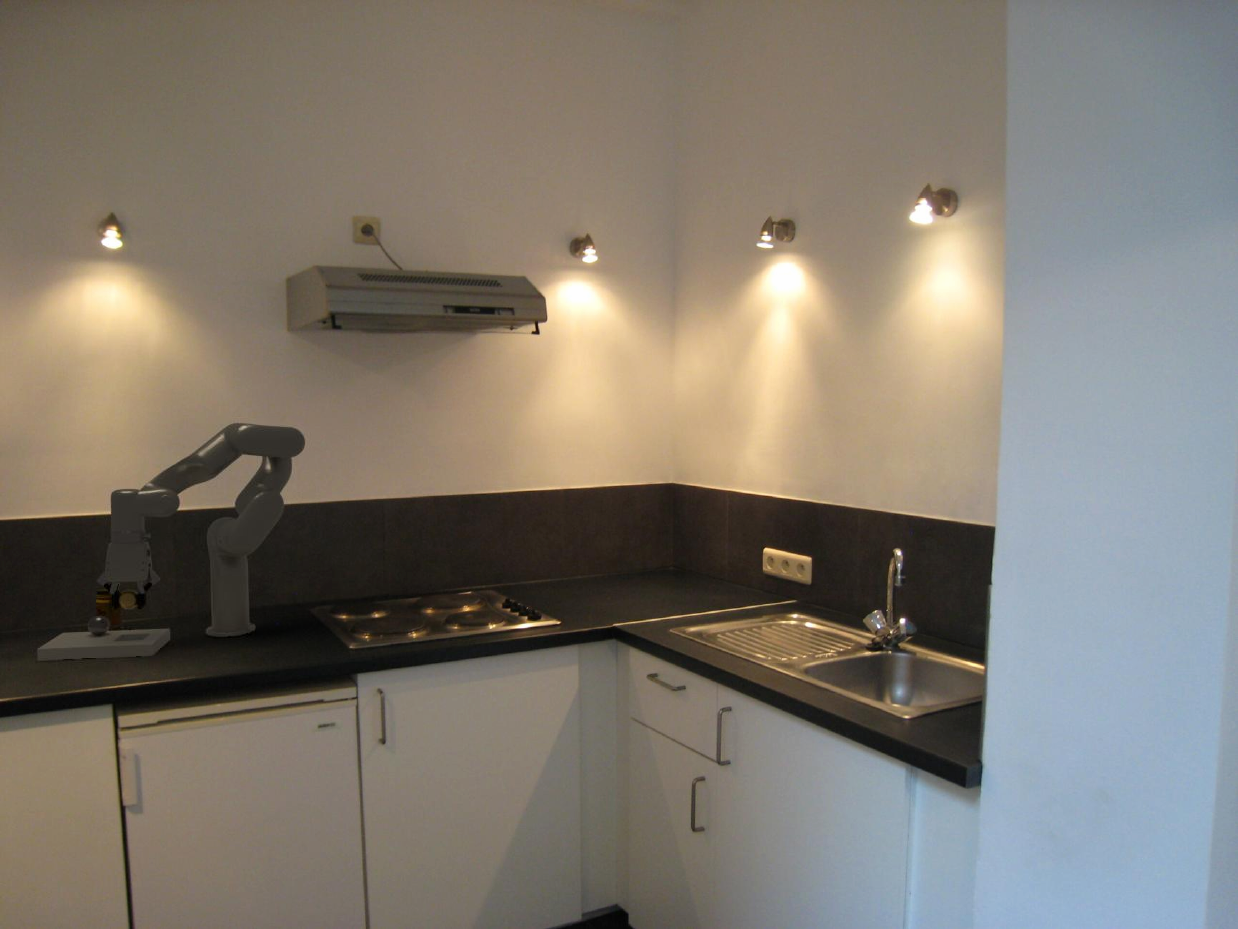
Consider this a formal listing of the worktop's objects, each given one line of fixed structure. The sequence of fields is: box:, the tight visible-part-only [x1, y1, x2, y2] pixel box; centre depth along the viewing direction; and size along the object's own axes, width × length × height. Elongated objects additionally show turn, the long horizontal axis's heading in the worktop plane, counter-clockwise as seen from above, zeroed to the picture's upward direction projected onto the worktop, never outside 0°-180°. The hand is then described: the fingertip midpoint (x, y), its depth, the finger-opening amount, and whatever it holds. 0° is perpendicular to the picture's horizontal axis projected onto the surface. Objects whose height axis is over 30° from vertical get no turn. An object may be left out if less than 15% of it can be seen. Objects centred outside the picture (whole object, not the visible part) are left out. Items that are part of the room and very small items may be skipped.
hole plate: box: [36, 628, 171, 662], centre depth 239 cm, size 16×26×3 cm, turn 101°
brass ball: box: [118, 589, 139, 610], centre depth 239 cm, size 5×5×5 cm
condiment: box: [95, 587, 123, 631], centre depth 257 cm, size 7×8×12 cm
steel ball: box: [87, 615, 110, 635], centre depth 242 cm, size 5×5×5 cm
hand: (129, 607), depth 239 cm, fingers closed on brass ball, 5 cm apart
